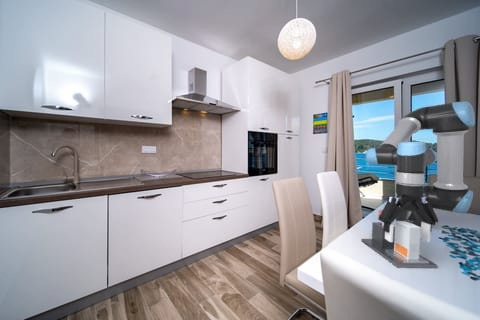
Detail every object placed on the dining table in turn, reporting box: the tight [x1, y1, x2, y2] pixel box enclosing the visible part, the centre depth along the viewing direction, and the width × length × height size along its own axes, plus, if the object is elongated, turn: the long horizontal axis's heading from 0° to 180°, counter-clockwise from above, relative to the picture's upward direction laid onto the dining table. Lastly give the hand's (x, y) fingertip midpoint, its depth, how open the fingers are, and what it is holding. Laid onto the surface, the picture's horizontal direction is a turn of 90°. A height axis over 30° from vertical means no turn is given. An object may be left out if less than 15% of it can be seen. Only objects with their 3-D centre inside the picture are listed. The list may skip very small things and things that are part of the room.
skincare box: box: [394, 220, 421, 260], centre depth 68 cm, size 6×4×12 cm
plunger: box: [377, 209, 384, 226], centre depth 79 cm, size 4×4×10 cm
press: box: [360, 221, 438, 269], centre depth 73 cm, size 14×19×9 cm
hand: (406, 240), depth 68 cm, fingers open, 13 cm apart
